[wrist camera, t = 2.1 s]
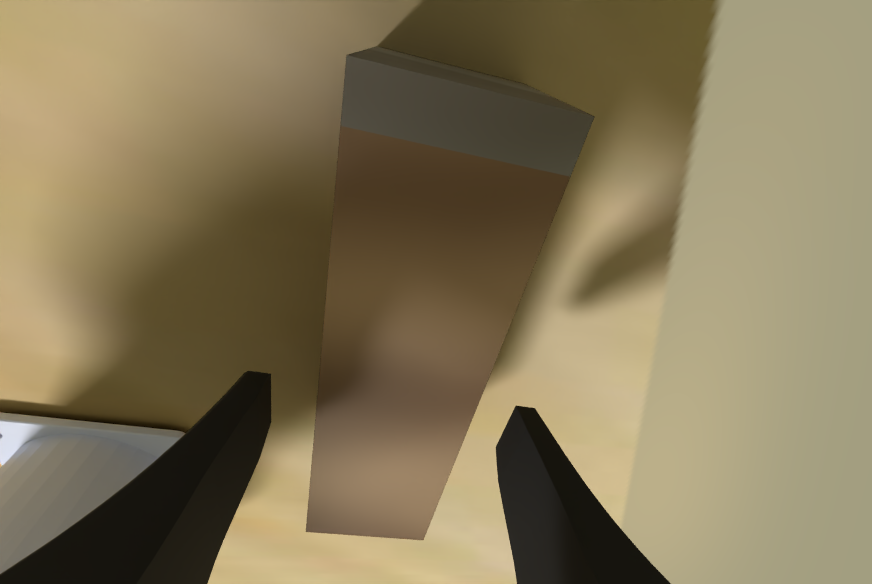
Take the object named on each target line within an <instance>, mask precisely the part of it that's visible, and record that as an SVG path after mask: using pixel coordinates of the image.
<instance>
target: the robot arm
mask: <svg viewBox="0 0 872 584" xmlns="http://www.w3.org/2000/svg"><path fill="white" fill-rule="evenodd" d="M270 424H271V374H268V373H261V372H253V371H247V372H245V373H244V374H243V375H242V376H241V377H240V378H239V379H238V381H237V382H236V383H235V384H234V385H233V386H232V387H231V388H230V389H229V390H228V392H227V393H226V394H225V395H224V396H223V397H222V398H221V399H220V400H219V401H218V402H217V403H216V404H215V405H214V406H213V407H212V408H211V409H210V410H209V411H208V412H207V413H206V414H205V415H204V416H203V417H202V418H201V419H200V420H199V421H198V422H197V423H196V424H195V425H194V426H193V427H192V428H191V429H190V430H189V431H188V432H187V433H184V432H182V431H177V430H167V429H157V428H148V427H138V426H128V425H118V424H109V423H99V422H89V421H80V420H70V419H60V418H50V417H41V416H31V415H21V414H12V413H2V412H0V463H1V465H2V467H1V468H0V584H207V583H208V580H209V577H210V574H211V571H212V569H213V566H214V563H215V560H216V557H217V555H218V552H219V550H220V547H221V545H222V542H223V540H224V538H225V535H226V533H227V531H228V529H229V526H230V524H231V522H232V520H233V517H234V515H235V513H236V511H237V508H238V506H239V504H240V502H241V499H242V497H243V495H244V492H245V490H246V488H247V486H248V483H249V481H250V479H251V477H252V474H253V472H254V470H255V467H256V465H257V463H258V460H259V458H260V455H261V452H262V449H263V446H264V443H265V440H266V437H267V433H268V430H269V427H270ZM496 457H497V471H498V482H499V488H500V493H501V498H502V504H503V509H504V514H505V519H506V524H507V529H508V534H509V539H510V545H511V550H512V555H513V560H514V566H515V572H516V579H517V584H670V583H669V581H668V580H667V579H666V578H664V576H663V575H662V574H661V573H660V572H659V571H658V570H657V569H656V568H655V567H654V566H653V565H652V564H651V563H650V562H649V561H648V559H647V558H646V557H645V556H644V555H643V554H642V553H641V552H640V551H639V550H638V548H637V547H636V546H635V545H634V544H633V543H632V541H631V540H630V539H629V538H628V537H627V536H626V534H625V533H624V532H623V531H622V530H621V529H620V527H619V526H618V525H617V524H616V523H615V521H614V520H613V519H612V518H611V517H610V515H609V514H608V513H607V512H606V510H605V509H604V508H603V506H602V505H601V504H600V502H599V501H598V500H597V499H596V497H595V496H594V495H593V493H592V492H591V491H590V489H589V488H588V487H587V485H586V484H585V482H584V481H583V480H582V478H581V477H580V475H579V474H578V472H577V471H576V470H575V468H574V467H573V465H572V464H571V462H570V461H569V459H568V458H567V457H566V455H565V454H564V452H563V451H562V449H561V448H560V446H559V444H558V443H557V441H556V440H555V438H554V437H553V435H552V434H551V432H550V431H549V429H548V428H547V426H546V425H545V423H544V422H543V420H542V418H541V417H540V415H539V414H538V412H537V411H536V409H535V408H529V407H522V406H516V407H515V409H514V411H513V413H512V415H511V417H510V419H509V421H508V423H507V425H506V427H505V429H504V431H503V433H502V436H501V438H500V440H499V442H498V444H497V446H496Z"/></svg>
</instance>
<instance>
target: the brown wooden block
mask: <svg viewBox="0 0 872 584" xmlns="http://www.w3.org/2000/svg"><path fill="white" fill-rule="evenodd" d="M593 119H594V116H592V115H590V114H588V113H586V112H584V111H581V110H579V109H577V108H575V107H573V106H571V105H569V104H567V103H564V102H562V101H560V100H558V99H556V98H554V97H552V96H550V95H547V94H545V93H543V92H541V91H539V90H537V89H535V88H533V87H530V86H528V85H526V84H523V83H519V82H515V81H511V80H507V79H503V78H499V77H495V76H491V75H487V74H483V73H480V72H476V71H472V70H468V69H464V68H460V67H456V66H452V65H448V64H444V63H440V62H436V61H432V60H428V59H424V58H420V57H417V56H413V55H409V54H405V53H401V52H397V51H393V50H389V49H385V48H381V47H373V48H370V49H366V50H363V51H359V52H356V53H352V54H349V55H347V56H346V68H345V79H344V91H343V103H342V115H341V126H340V138H339V150H338V161H337V173H336V185H335V196H334V208H333V220H332V231H331V243H330V255H329V267H328V278H327V290H326V302H325V313H324V325H323V337H322V348H321V360H320V372H319V384H318V395H317V407H316V419H315V430H314V442H313V454H312V465H311V477H310V489H309V500H308V512H307V524H306V532H315V533H329V534H343V535H357V536H371V537H385V538H399V539H413V540H424V537H425V535H426V532H427V530H428V527H429V525H430V522H431V520H432V517H433V515H434V512H435V510H436V507H437V505H438V503H439V500H440V498H441V495H442V493H443V490H444V488H445V485H446V483H447V480H448V478H449V475H450V473H451V470H452V468H453V465H454V463H455V461H456V458H457V456H458V453H459V451H460V448H461V446H462V443H463V441H464V438H465V436H466V433H467V431H468V428H469V426H470V423H471V421H472V418H473V416H474V414H475V411H476V409H477V406H478V404H479V401H480V399H481V396H482V394H483V391H484V389H485V386H486V384H487V381H488V379H489V376H490V374H491V372H492V369H493V367H494V364H495V362H496V359H497V357H498V354H499V352H500V349H501V347H502V344H503V342H504V339H505V337H506V334H507V332H508V330H509V327H510V325H511V322H512V320H513V317H514V315H515V312H516V310H517V307H518V305H519V302H520V300H521V297H522V295H523V292H524V290H525V288H526V285H527V283H528V280H529V278H530V275H531V273H532V270H533V268H534V265H535V263H536V260H537V258H538V255H539V253H540V250H541V248H542V246H543V243H544V241H545V238H546V236H547V233H548V231H549V228H550V226H551V223H552V221H553V218H554V216H555V213H556V211H557V208H558V206H559V203H560V201H561V199H562V196H563V194H564V191H565V189H566V186H567V184H568V181H569V179H570V176H571V174H572V171H573V169H574V166H575V164H576V161H577V159H578V157H579V154H580V152H581V149H582V147H583V144H584V142H585V139H586V137H587V134H588V132H589V129H590V127H591V124H592V122H593Z"/></svg>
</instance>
